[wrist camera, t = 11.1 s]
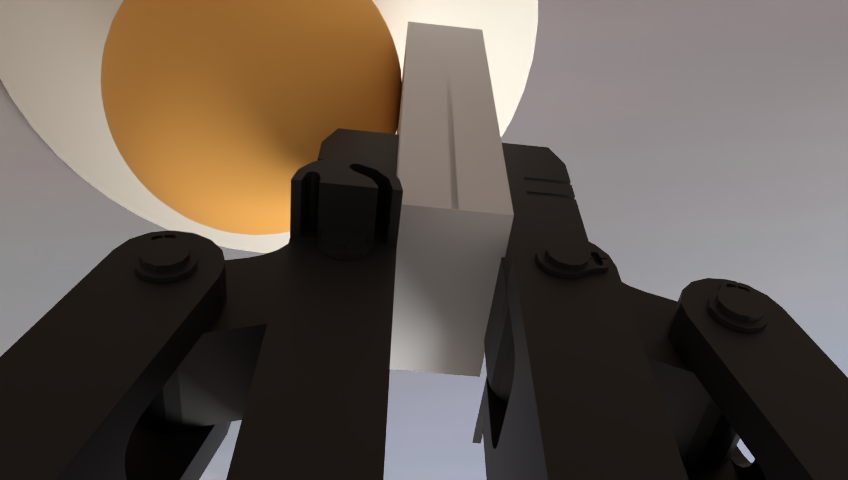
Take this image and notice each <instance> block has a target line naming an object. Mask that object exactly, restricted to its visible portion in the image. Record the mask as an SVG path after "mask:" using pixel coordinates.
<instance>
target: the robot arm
mask: <svg viewBox="0 0 848 480" xmlns="http://www.w3.org/2000/svg"><path fill="white" fill-rule="evenodd" d="M574 197H575V195H574V192H573V189H572V185H570V179H569V175H568V172H567V169H566V166H565V164H564V163H563V162H562V161H561V160H560V159H559V158H558V157H557V156H556V155H555V154H554V153H553V152H552V151H551V150H550V149H549V148H547V147H537V146H527V145H518V144H508V143H501V137H500V131H499V125H498V119H497V113H496V107H495V101H494V96H493V90H492V84H491V78H490V72H489V66H488V60H487V55H486V49H485V43H484V37H483V31H482V30H481V29H472V28H463V27H454V26H445V25H436V24H427V23H418V22H409V21H408V26H407V36H406V45H405V55H404V65H403V75H402V90H401V101H400V111H399V121H398V128H397V133H396V134H389V133H379V132H369V131H360V130H350V129H340V128H338V129H337V130H336V131H334V132H333V133H332V134H331V135H329V136H328V137H327V138H326V139H325V140H323V141H322V143H321V147H320V151H319V155H318V161H314V162H311V163H309V164H307V165H305V166H304V167H302V168H300V169H298V170H297V172H296V173H295V174H294V176H293V177H292V179H291V205H290V239H289V243H288V244H287V245H285V246H283V247H282V248H280V249H278V250H276V251H273V252H270V253H268V254H265V255H260V256H255V257H250V258H242V259H233V260H224V256H223V251H222V250H221V249H220V248H219V247H218V246H217V245H216V244H215V243H214V242H213V241H212V240H210V239H208V238H205V237H203V236H200V235H198V234H195V233H190V232H182V231H173V230H172V231H160V232H151V233H147V234H144V235H141V236H138V237H135V238H132V239H129V240H128V241H126V242H125V243H123V244H122V245H120V246H119V247H117V248H116V249H114V250H113V251H112V252H111V253H110V254H109V255H108V256H106V257H105V258H104V259H103V260H102V261H101V262H100V263H99V264H98V265H97V266H96V267H95V268H94V269H93V270H92V271H91V272H90V273H89V274H87V275H86V276H85V277H84V278H83V279H82V280H81V281H80V282H79V283H78V284H77V285H76V286H75V287H74V288H73V289H72V290H71V291H70V292H68V293H67V294H66V295H65V296H64V297H63V298H62V299H61V300H60V301H59V302H58V303H57V304H56V305H55V306H54V307H53V308H52V309H51V310H49V311H48V312H47V313H46V314H45V315H44V316H43V317H42V318H41V319H40V320H39V321H38V322H37V323H36V324H35V325H34V326H33V327H32V328H30V329H29V330H28V331H27V332H26V333H25V334H24V335H23V336H22V337H21V338H20V339H19V340H18V341H17V342H16V343H15V344H14V345H13V346H11V347H10V348H9V349H8V350H7V351H6V352H5V353H4V354H3V355H2V356H1V357H0V480H199V479H200V477H201V476H202V474H203V472H204V471H205V469H206V467H207V466H208V464H209V462H210V461H211V459H212V458H213V456H214V454H215V453H216V451H217V449H218V448H219V446H220V444H221V443H222V441H223V440H224V438H225V436H226V435H227V432H228V429H229V426H230V424H231V421H236V420H242V422H241V426H240V430H239V434H238V437H237V441H236V445H235V449H234V453H233V457H232V460H231V464H230V468H229V472H228V476H227V479H226V480H383V474H384V457H385V440H386V423H387V406H388V389H389V372H390V369H396V370H407V371H419V372H431V373H443V374H455V375H467V376H479V377H480V372H481V367H482V363H483V358H484V353H485V358H486V369H487V378H486V382H485V387H484V391H483V396H482V400H481V405H480V409H479V414H478V418H477V423H476V428H475V432H474V438H473V443H481V439H482V435H483V438H484V451H485V464H486V477H487V480H848V378H847V377H846V375H845V374H844V373H843V372H842V371H841V370H840V369H839V368H838V367H837V366H836V365H835V364H834V363H833V362H832V360H831V359H830V358H829V357H828V356H827V355H826V354H825V353H824V352H823V351H822V350H821V349H820V348H819V346H818V345H817V344H816V343H815V342H814V341H813V340H812V339H811V338H810V337H809V336H808V335H807V334H806V333H805V331H804V330H803V329H802V328H801V327H800V326H799V325H798V324H797V323H796V322H795V321H794V320H793V319H792V318H791V316H790V315H789V314H788V313H787V312H786V311H785V310H784V309H783V308H782V307H781V306H779V305H778V304H777V303H776V302H775V301H773V300H772V299H771V298H770V297H769V296H767V295H765V294H763V293H761V292H759V291H757V290H755V289H754V288H752V287H750V286H748V285H745V284H742V283H737V282H735V281H730V280H726V279H711V278H706V279H702V280H698V281H693V282H691V283H690V284H689V285H688V286H687V287H685V288H684V289H683V290H682V293H681V295H680V298H679V300H678V302H677V301H674V300H670V299H667V298H664V297H660V296H657V295H654V294H650V293H647V292H644V291H641V290H638V289H636V288H633V287H630V286H628V285H626V284H625V283H623V282H621V279H620V276H619V273H618V270H617V267H616V266H615V264H614V263H613V261H612V259H611V258H610V256H609V255H608V254H606V253H605V252H604V251H603V250H601V249H600V248H599V247H597V246H596V245H595V244H592V243H590V242H588V238H587V235H586V232H585V228H584V225H583V222H582V218H581V215H580V212H579V209H578V205H577V202H576V200H574ZM740 438H741V440H742V441H743V442H744V444H745V445H746V447H747V448H748V449H749V451H750V452H751V454H752V455H753V456H754V458H755V460H754V462H753V463H750V462H749V461H748V460H747V459H746V458H745V456H744V455H743V454H742V453H741V451H740V450H739V448H738V447H737V443H738V441H739V439H740Z"/></svg>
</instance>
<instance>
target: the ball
mask: <svg viewBox="0 0 848 480" xmlns="http://www.w3.org/2000/svg"><path fill="white" fill-rule="evenodd" d="M401 90H402V78H401V68H400V63H399V58H398V54H397V50H396V47H395V44H394V40H393V38H392V35H391V33H390V31H389V28H388V26H387V24H386V22H385V20H384V18H383V17H382V15H381V13H380V11H379V9H378V8H377V6H376V5H375V4H374V2H373V1H372V0H123V2H122V4H121V5H120V7H119V9H118V11H117V13H116V15H115V17H114V18H113V20H112V23H111V26H110V29H109V32H108V35H107V38H106V42H105V45H104V49H103V55H102V64H101V96H102V101H103V107H104V112H105V116H106V120H107V123H108V127H109V130H110V133H111V135H112V138H113V140H114V142H115V144H116V146H117V148H118V151H119V152H120V154H121V156H122V157H123V159H124V161H125V162H126V164H127V165H128V167H129V168H130V170H131V171H132V172H133V174H134V175H135V176H136V177H137V179H138V180H139V181H140V182H141V183H142V184H143V185H144V186H145V187H146V188H147V189H148V190H149V191H150V192H151V193H152V194H153V195H154V196H155V197H156V198H158V199H159V200H160V201H162V202H163V203H164V204H166V205H167V206H168V207H170V208H171V209H173V210H174V211H176V212H178V213H179V214H181V215H183V216H184V217H186V218H188V219H190V220H192V221H194V222H197V223H200V224H202V225H205V226H208V227H211V228H214V229H217V230H221V231H225V232H230V233H238V234H248V235H267V234H280V233H285V232H289V231H290V205H291V179H292V177H293V176H294V174H295V173H296V172H297V170H298V169H300V168H302V167H304V166H305V165H307V164H309V163H311V162H314V161H318V155H319V151H320V147H321V143H322V141H323V140H325V139H326V138H327V137H328V136H329V135H331V134H332V133H333V132H334V131H336V130H337V129H338V128H340V129H350V130H360V131H369V132H379V133H389V134H396V131H397V128H398V121H399V111H400V101H401Z"/></svg>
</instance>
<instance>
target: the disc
mask: <svg viewBox="0 0 848 480" xmlns="http://www.w3.org/2000/svg"><path fill="white" fill-rule="evenodd" d="M372 1H373V2H374V4H375V5H376V6H377V8H378V9H379V11H380V13H381V15H382V17H383V18H384V20H385V22H386V24H387V26H388V28H389V31H390V33H391V35H392V38H393V40H394V44H395V47H396V50H397V54H398V58H399V63H400V68H401V78H402V75H403V65H404V55H405V45H406V36H407V26H408V21H409V22H418V23H427V24H436V25H445V26H454V27H463V28H472V29H481V30H482V31H483V37H484V43H485V49H486V55H487V60H488V66H489V72H490V78H491V84H492V90H493V96H494V101H495V107H496V113H497V119H498V125H499V131H500V137H502V135H503V133H504V132H505V130H506V128H507V127H508V125H509V123H510V122H511V120H512V117H513V115H514V113H515V110H516V108H517V106H518V103H519V101H520V99H521V96H522V94H523V91H524V89H525V85H526V81H527V78H528V74H529V70H530V67H531V63H532V60H533V54H534V47H535V40H536V32H537V25H538V0H372ZM122 2H123V0H0V79H1V81H2V83H3V85H4V86H5V88H6V90H7V92H8V93H9V95H10V97H11V99H12V100H13V101H14V103H15V104H16V106H17V107H18V108H19V110H20V111H21V113H22V114H23V115H24V117H25V118H26V119H27V121H28V122H29V124H30V125H31V126H32V128H33V129H34V130H35V131H36V132H37V133H38V135H39V136H40V137H41V138H42V139H43V140H44V141H45V142H46V143H47V145H48V146H49V147H50V148H51V149H52V150H53V151H54V152H55V154H56V155H57V156H58V157H60V158H61V159H62V160H63V161H64V162H65V163H66V164H67V165H68V166H69V167H71V168H72V169H73V170H74V171H75V172H76V173H77V174H78V175H79V176H80V177H82V178H83V179H84V180H85V181H87V182H88V183H89V184H91V185H92V186H93V187H95V188H96V189H98V190H99V191H100V192H102V193H103V194H104V195H106V196H107V197H108V198H110V199H111V200H113V201H115V202H116V203H118V204H120V205H121V206H123V207H125V208H126V209H128V210H130V211H131V212H133V213H135V214H136V215H138V216H140V217H142V218H144V219H146V220H148V221H151V222H153V223H155V224H157V225H159V226H161V227H163V228H165V229H168V230H170V231H172V230H173V231H182V232H190V233H195V234H198V235H200V236H203V237H205V238H208V239H210V240H212V241H213V242H214V243H215V244H216V245H218V246H222V247H226V248H231V249H238V250H245V251H253V252H260V253H270V252H273V251H276V250H278V249H280V248H282V247H283V246H285V245H287V244H288V243H289V239H290V231H289V232H285V233H280V234H267V235H248V234H238V233H230V232H225V231H221V230H217V229H214V228H211V227H208V226H205V225H202V224H200V223H197V222H194V221H192V220H190V219H188V218H186V217H184V216H183V215H181V214H179V213H178V212H176V211H174V210H173V209H171V208H170V207H168V206H167V205H166V204H164V203H163V202H162V201H160V200H159V199H158V198H156V197H155V196H154V195H153V194H152V193H151V192H150V191H149V190H148V189H147V188H146V187H145V186H144V185H143V184H142V183H141V182H140V181H139V180H138V179H137V177H136V176H135V175H134V174H133V172H132V171H131V170H130V168H129V167H128V165H127V164H126V162H125V161H124V159H123V157H122V156H121V154H120V152H119V151H118V148H117V146H116V144H115V142H114V140H113V138H112V135H111V133H110V130H109V127H108V123H107V120H106V116H105V112H104V107H103V101H102V96H101V64H102V55H103V49H104V45H105V42H106V38H107V35H108V32H109V29H110V26H111V23H112V20H113V18H114V17H115V15H116V13H117V11H118V9H119V7H120V5H121V4H122ZM396 133H397V131H396Z"/></svg>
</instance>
